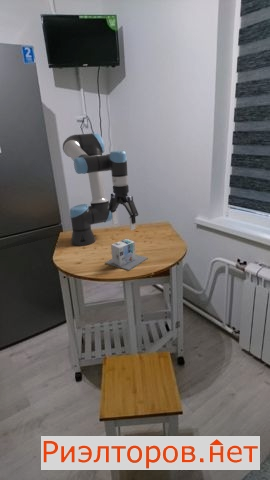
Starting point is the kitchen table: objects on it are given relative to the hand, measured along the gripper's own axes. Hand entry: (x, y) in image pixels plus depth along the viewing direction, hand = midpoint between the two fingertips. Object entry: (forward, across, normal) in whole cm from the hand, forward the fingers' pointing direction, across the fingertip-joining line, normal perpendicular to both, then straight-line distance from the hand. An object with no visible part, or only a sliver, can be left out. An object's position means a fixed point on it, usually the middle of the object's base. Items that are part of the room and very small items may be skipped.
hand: (123, 226), depth 142 cm
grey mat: (+19, 0, 0) cm, 19 cm away
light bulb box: (+13, +1, -8) cm, 15 cm away
